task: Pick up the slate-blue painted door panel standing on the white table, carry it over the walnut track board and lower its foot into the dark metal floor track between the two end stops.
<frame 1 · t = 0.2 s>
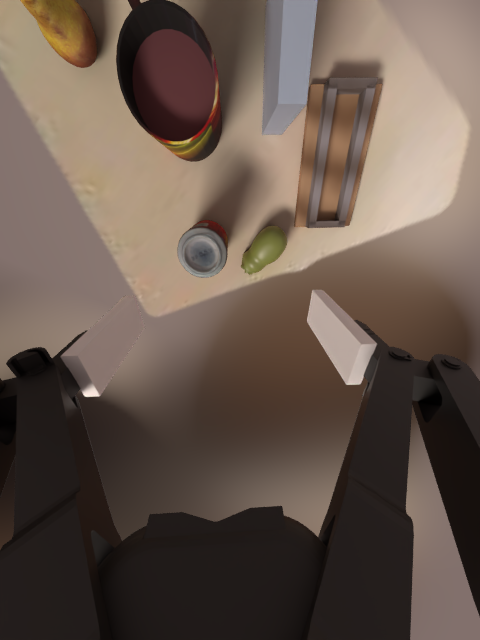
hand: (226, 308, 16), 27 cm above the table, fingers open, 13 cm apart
soda can: (209, 239, 39), on the table
fruit: (82, 44, 26), on the table
track base: (330, 166, 34), on the table
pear: (260, 249, 40), on the table
mug: (177, 109, 30), on the table
door panel: (274, 77, 28), on the table
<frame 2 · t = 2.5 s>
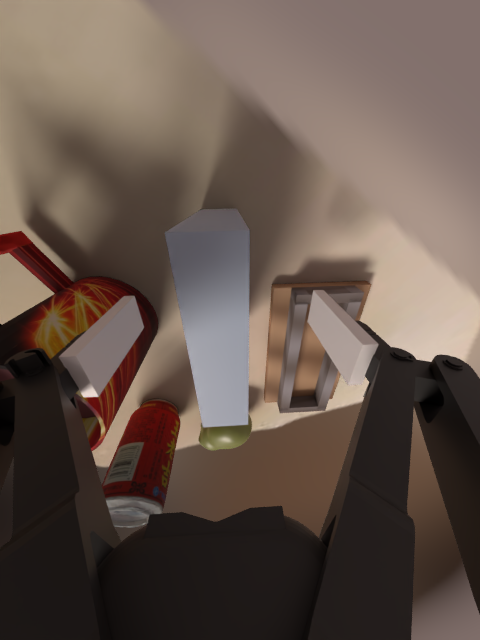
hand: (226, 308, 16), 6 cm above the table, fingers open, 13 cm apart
soda can: (159, 409, 31), on the table
track base: (305, 349, 26), on the table
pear: (223, 415, 33), on the table
mug: (94, 307, 22), on the table, touching gripper
door panel: (223, 276, 21), on the table
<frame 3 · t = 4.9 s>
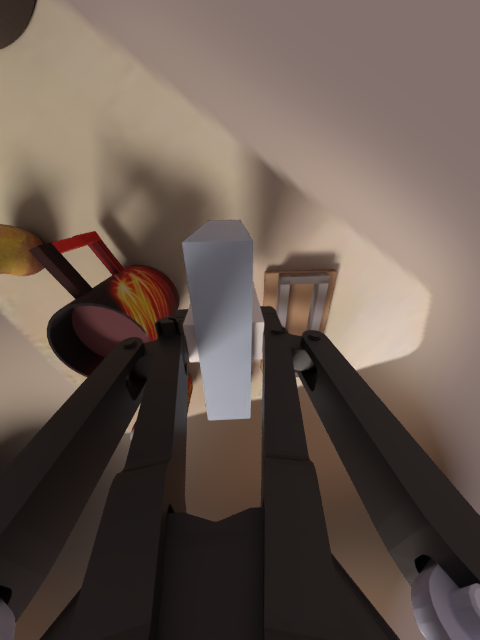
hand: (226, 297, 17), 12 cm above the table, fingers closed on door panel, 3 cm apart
fruit: (35, 246, 27), on the table
track base: (292, 324, 34), on the table
mug: (132, 288, 30), on the table
door panel: (227, 282, 22), point 7 cm above the table, touching gripper
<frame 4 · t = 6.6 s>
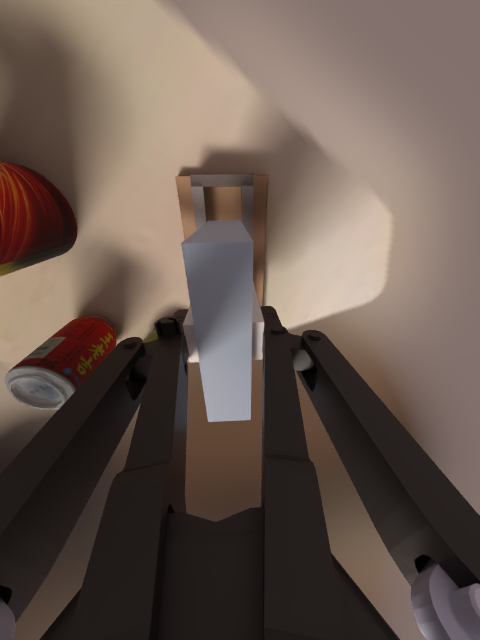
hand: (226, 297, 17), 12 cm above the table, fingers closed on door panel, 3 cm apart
soda can: (98, 330, 33), on the table
track base: (226, 257, 28), on the table
mug: (12, 201, 23), on the table
door panel: (227, 282, 22), point 7 cm above the table, touching gripper
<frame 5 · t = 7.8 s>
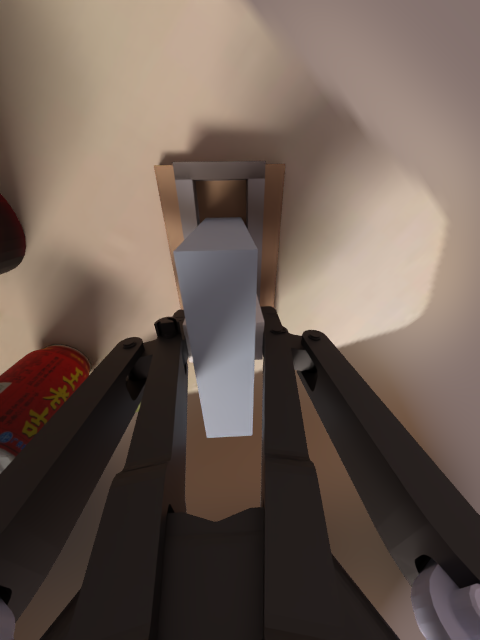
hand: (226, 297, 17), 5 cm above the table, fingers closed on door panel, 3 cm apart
soda can: (67, 361, 26), on the table
track base: (226, 274, 21), on the table
door panel: (226, 283, 21), point 1 cm above the table, touching gripper, track base
when the fingers open (4 cm above the table, at t = 8.3 s): door panel stays where it is, resting on track base.
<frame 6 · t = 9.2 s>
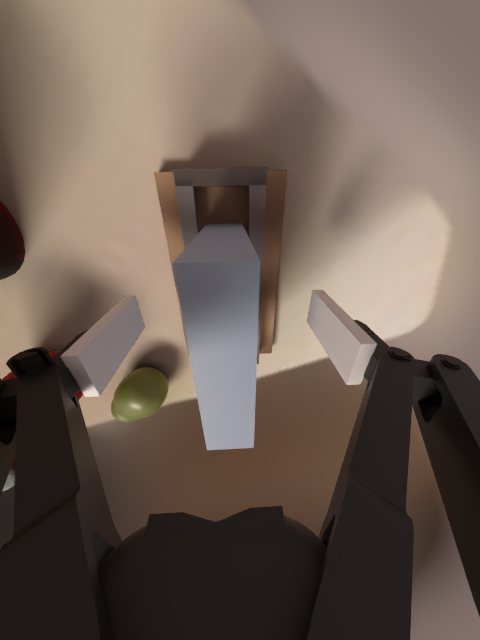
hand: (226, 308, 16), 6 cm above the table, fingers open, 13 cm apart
soda can: (66, 367, 26), on the table
track base: (226, 280, 21), on the table
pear: (143, 382, 28), on the table
door panel: (227, 289, 20), point 1 cm above the table, touching track base
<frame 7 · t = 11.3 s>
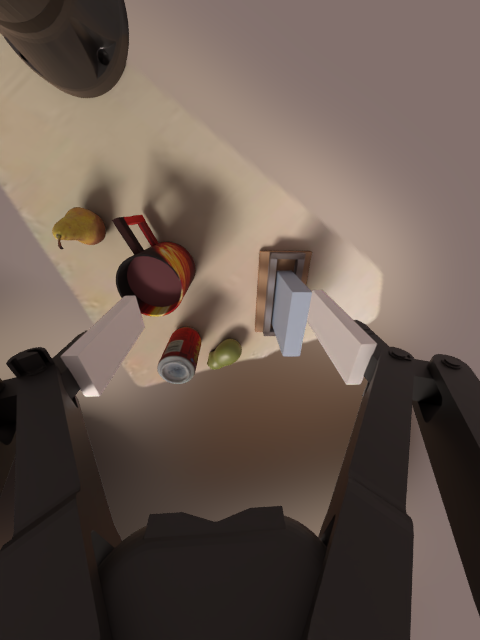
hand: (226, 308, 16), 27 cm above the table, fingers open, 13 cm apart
soda can: (187, 336, 49), on the table
fruit: (95, 225, 37), on the table
track base: (279, 294, 44), on the table
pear: (223, 349, 51), on the table
mug: (162, 259, 40), on the table
door panel: (280, 298, 44), point 1 cm above the table, touching track base
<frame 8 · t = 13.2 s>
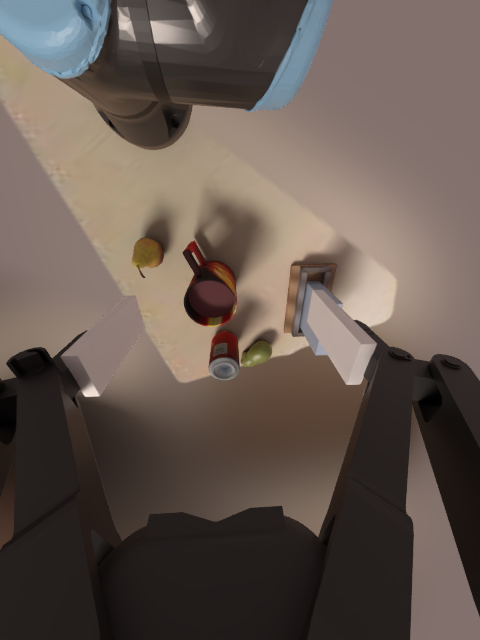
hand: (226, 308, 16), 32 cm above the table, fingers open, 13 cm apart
soda can: (225, 338, 56), on the table
fruit: (153, 249, 44), on the table
track base: (306, 300, 51), on the table
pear: (254, 349, 59), on the table
mug: (207, 275, 47), on the table
door panel: (308, 304, 51), point 1 cm above the table, touching track base
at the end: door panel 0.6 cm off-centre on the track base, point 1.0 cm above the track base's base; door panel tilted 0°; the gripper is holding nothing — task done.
